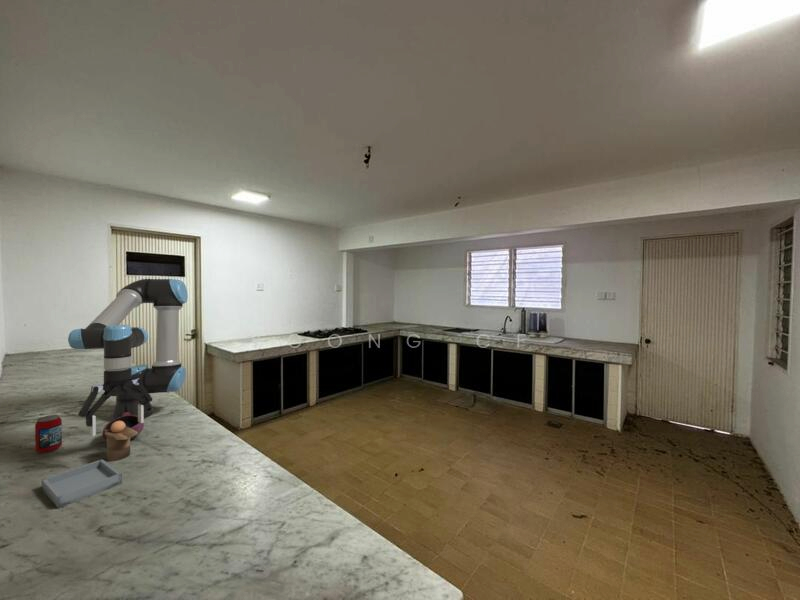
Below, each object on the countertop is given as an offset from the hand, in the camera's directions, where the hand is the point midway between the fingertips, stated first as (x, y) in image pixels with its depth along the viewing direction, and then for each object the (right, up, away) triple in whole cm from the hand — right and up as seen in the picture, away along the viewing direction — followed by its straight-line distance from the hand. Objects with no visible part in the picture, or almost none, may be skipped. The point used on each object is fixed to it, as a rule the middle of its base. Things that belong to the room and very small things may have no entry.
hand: (117, 428), depth 118 cm
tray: (+4, -11, -17) cm, 21 cm away
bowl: (-11, -10, +14) cm, 20 cm away
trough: (+1, -10, 0) cm, 11 cm away
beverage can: (-30, -10, +5) cm, 31 cm away
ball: (0, 0, +1) cm, 1 cm away
